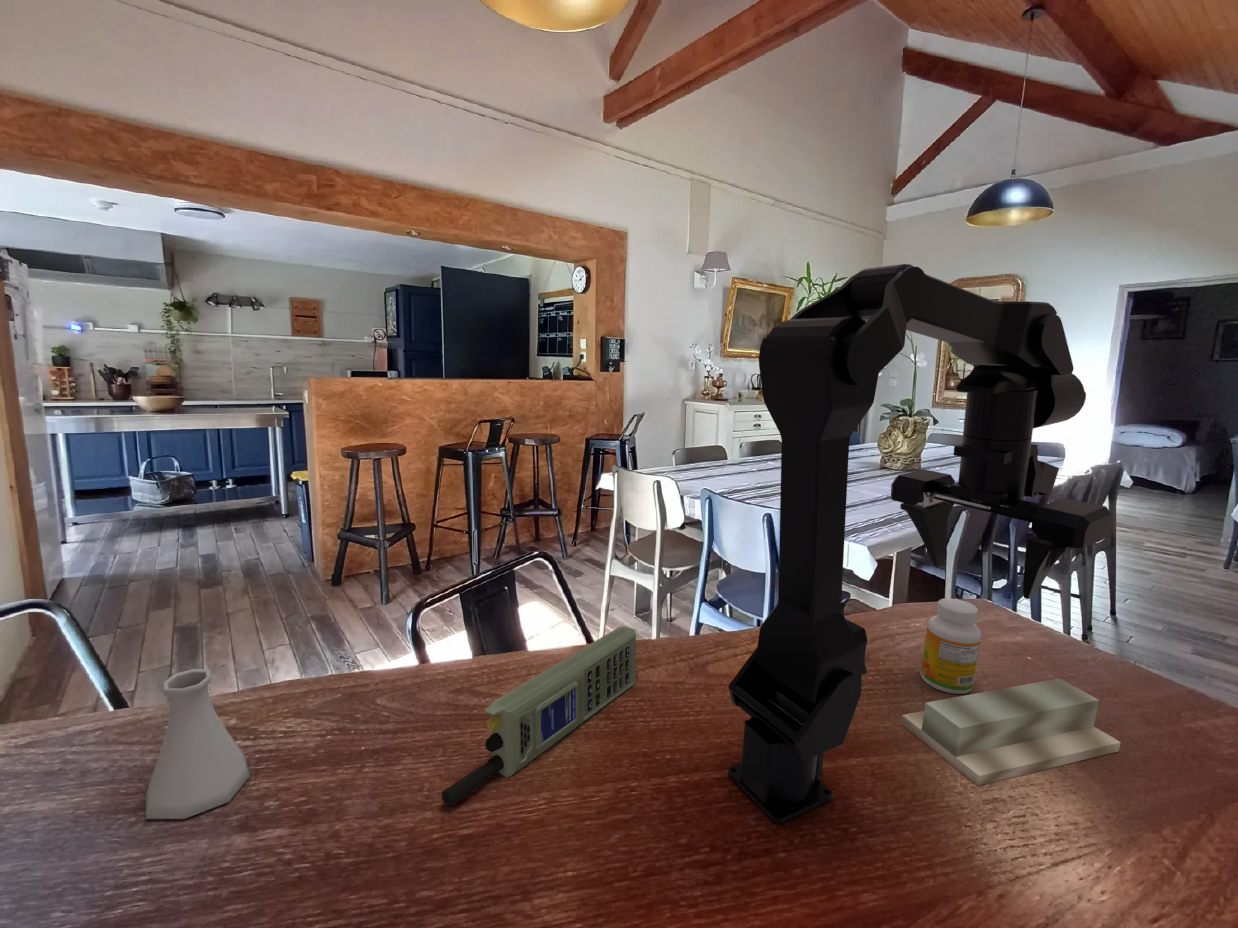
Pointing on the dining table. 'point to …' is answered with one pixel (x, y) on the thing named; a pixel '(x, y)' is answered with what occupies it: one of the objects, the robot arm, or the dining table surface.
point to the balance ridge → (1013, 730)
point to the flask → (193, 753)
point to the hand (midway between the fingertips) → (980, 580)
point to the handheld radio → (552, 706)
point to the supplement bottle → (951, 647)
